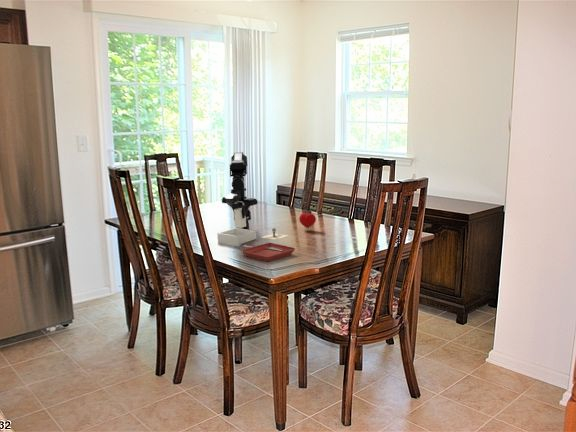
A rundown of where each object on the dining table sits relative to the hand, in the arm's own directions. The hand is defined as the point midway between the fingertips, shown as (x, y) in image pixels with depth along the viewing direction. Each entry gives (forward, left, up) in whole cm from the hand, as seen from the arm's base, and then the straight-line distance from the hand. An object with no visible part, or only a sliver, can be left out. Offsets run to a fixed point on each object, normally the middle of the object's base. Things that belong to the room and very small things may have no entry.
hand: (240, 217), depth 281 cm
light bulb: (+18, +33, -12) cm, 40 cm away
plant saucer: (+28, -13, -13) cm, 33 cm away
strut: (0, 0, -4) cm, 4 cm away
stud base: (+11, +13, -12) cm, 21 cm away
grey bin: (-1, -2, -12) cm, 12 cm away
